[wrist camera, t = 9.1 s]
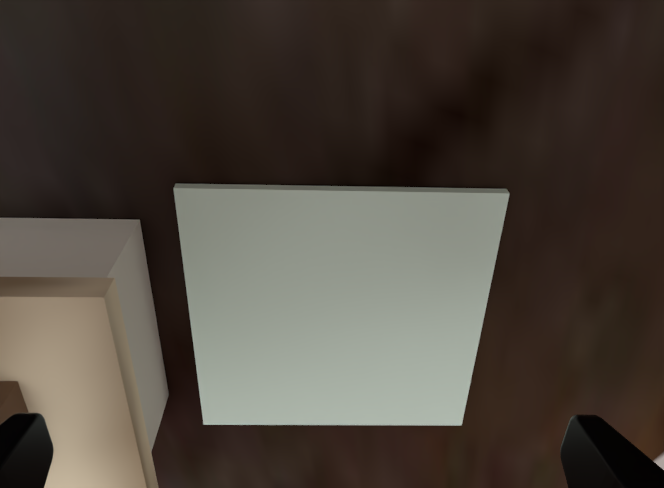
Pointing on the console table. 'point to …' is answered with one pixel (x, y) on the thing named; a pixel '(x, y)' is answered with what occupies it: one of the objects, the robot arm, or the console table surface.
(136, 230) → the beige boxy piece
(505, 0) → the console table surface
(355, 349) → the mat
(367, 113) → the console table surface
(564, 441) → the robot arm
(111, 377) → the lid
